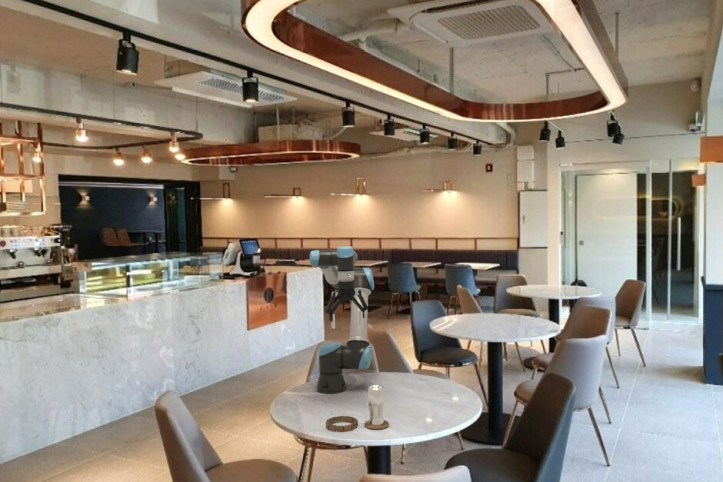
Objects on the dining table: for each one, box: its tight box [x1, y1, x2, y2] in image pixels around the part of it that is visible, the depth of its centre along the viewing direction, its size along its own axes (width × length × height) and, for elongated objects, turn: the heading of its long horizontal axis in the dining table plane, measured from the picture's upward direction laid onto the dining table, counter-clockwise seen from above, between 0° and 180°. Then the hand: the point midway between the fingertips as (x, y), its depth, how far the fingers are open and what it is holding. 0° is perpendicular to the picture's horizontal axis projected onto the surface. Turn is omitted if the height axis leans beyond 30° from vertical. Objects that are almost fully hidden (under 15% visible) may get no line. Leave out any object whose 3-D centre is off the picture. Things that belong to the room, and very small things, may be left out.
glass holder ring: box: [325, 415, 359, 433], centre depth 238 cm, size 13×13×2 cm
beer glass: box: [366, 384, 385, 426], centre depth 238 cm, size 7×7×15 cm
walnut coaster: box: [364, 419, 390, 431], centre depth 238 cm, size 10×10×1 cm
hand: (347, 326), depth 262 cm, fingers open, 13 cm apart
